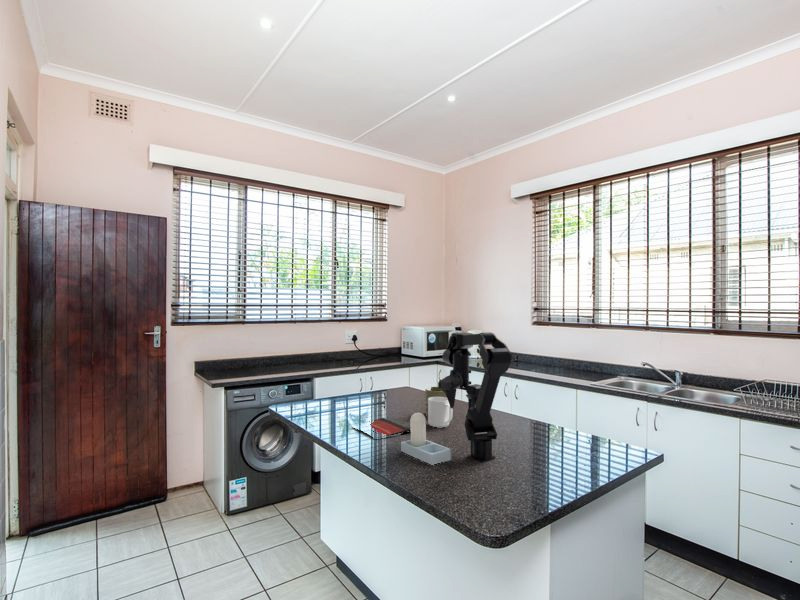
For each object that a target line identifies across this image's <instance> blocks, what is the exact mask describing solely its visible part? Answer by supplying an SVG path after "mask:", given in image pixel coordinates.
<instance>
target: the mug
mask: <svg viewBox="0 0 800 600" xmlns="http://www.w3.org/2000/svg"><path fill="white" fill-rule="evenodd" d="M449 407H450V405H449V402H448V399H447V398H446V397H430V398H428V417H427V424H428V425H429V426H430V427H431V426H433V427H432V428H434V427H437V428H436V429H444V428H443V427H445V428H447V427H448V426H449V424H450V422H451V421H452V420H453V416H454V414H453V412H454V411H453V409H454V407H453V408H450V417H449Z"/></svg>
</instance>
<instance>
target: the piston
mask: <svg viewBox="0 0 800 600" xmlns="http://www.w3.org/2000/svg"><path fill="white" fill-rule="evenodd" d="M441 389H442V388H438V386H431V387H430V390H429V389H427V388H426V389H425V392H424V393H425V394H424V395H425V396H424V397H425V400H424V401H425V406H424V407H425V410H424V411H425V414H426V415H427V416H428V398H430V397H446V398H447V396H446V394H445V393H444V392H443V391H442V390H441ZM449 418H450V407H449Z"/></svg>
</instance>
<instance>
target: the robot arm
mask: <svg viewBox="0 0 800 600" xmlns="http://www.w3.org/2000/svg"><path fill="white" fill-rule="evenodd" d="M476 345H477V346H479V349H478V350H479V352H478V354H479V356H480V358H481V364H482V366H483V369H484V374H483V377H482V381H481V384H478V383H476V384H472V381H470V374H472V370H471V369H470V357H471V356H472V354H471V352H470V351H469V349H470V348H473V346H476ZM485 346H492V348H486V347H485ZM442 361H443V362H444V363H445V364H447V365H451V366H452V369H450V371H449V374H448V375H447V376H445V377H444V378H442V379H439V381H437V387H438V388H442V389H441V390H442V391H443V392H444V393H445V394H446V396H447V399H448V402H449V405H450V408H453V409H454V407H455V402H456V401H455V400H456V394H457V389H458V390H462V391H465V393H466V394H465V396H466V398H467V404H468V409H467V412H466V415H465V420H464V429H465V435H466V439H467V441H468V442H469V441H470V454H468V455H467V457H468V458H470V459H473V460H476V461H478V462H481V463H484V462H487V461H490V460H493V459H495V458H496V456H495V455H494V454H493V440H497V436H498V433H497V430H496V427H495V426H494V424H493V422H494V421H493V417H492V415H491V410H492V406H493V403H494V400H495V397H496V392H497V390H498V387H499V386H498V385H499V384H500V381H501V377H502V376H503V375H504V374H505V373H506V372H508V370H509V368H510V366H511V364H512V361H513V355H512V352H511V351H510V349H509V348H508V346H507V344H506V343H505V342H503V341H502V340H501V339H499V338H498V337H497V336H496V334H495V333H493V332H492V331H491V332H480V333H472V332H471V333H470V332H453V333H451V335H450V336H449V338H448V341H447V343H446V346H445V350H444V351H443V353H442Z"/></svg>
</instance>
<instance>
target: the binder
mask: <svg viewBox="0 0 800 600" xmlns="http://www.w3.org/2000/svg"><path fill="white" fill-rule="evenodd" d="M373 420H374V422H373V423H371V424H370V425H371V426H372V428H374V429H375V431H376V430H377V432H380V433H383V434H386V435H387V436H389V435H394V434H398V433H402V432H405V433H407V432H406V431H409V432H411V430H410V428H408V427H406V426H404V425H402V424H399V423H396V422H393V421H391V420H389V419H387V418H385V417H381V418H378V419H373ZM373 432H374V431H373ZM375 433H376V432H375Z"/></svg>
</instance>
